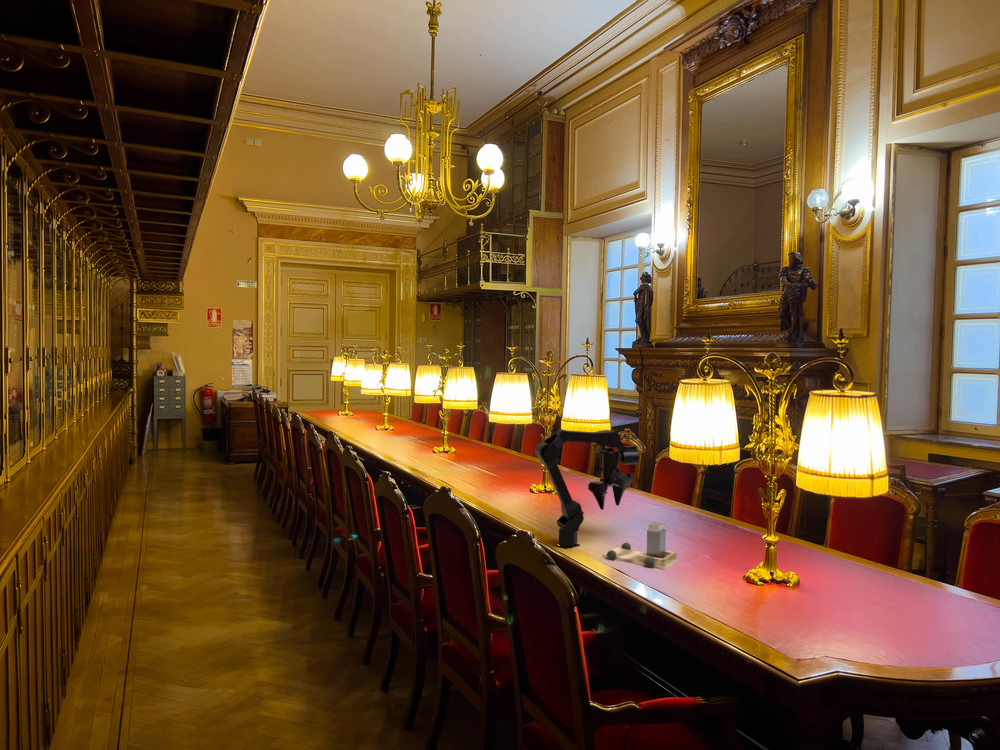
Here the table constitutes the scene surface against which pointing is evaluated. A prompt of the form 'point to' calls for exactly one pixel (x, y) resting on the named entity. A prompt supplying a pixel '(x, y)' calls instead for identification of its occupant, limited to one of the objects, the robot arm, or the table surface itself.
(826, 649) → the table surface
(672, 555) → the chassis
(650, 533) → the grey rectangular block
